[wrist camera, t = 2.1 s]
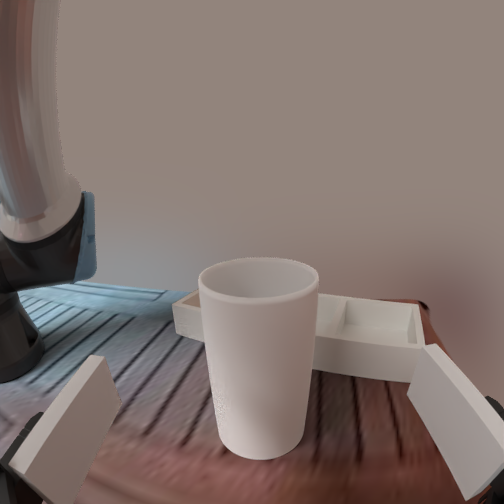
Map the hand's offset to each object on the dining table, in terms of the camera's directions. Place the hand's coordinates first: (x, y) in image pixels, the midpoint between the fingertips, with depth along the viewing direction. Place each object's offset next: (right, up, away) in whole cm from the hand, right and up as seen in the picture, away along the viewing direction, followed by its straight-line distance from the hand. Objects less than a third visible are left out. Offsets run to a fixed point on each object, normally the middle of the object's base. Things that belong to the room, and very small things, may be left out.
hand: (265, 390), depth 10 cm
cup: (0, -12, +14) cm, 18 cm away
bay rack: (+6, -7, +29) cm, 31 cm away
